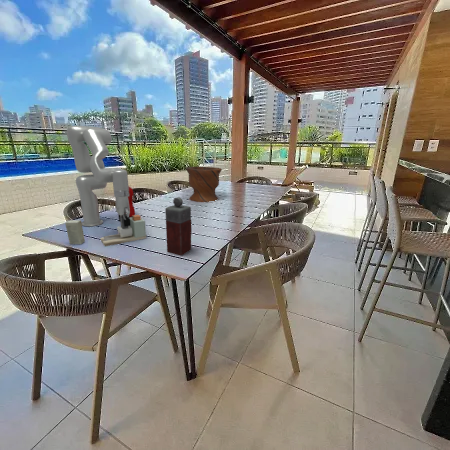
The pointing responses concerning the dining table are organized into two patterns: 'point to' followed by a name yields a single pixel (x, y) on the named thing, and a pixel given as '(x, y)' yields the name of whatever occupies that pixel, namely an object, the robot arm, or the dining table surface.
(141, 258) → the dining table surface
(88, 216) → the robot arm
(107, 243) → the track
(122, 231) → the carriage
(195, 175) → the wooden planter
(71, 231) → the skincare box
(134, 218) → the button
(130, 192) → the water bottle
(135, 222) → the end cabinet
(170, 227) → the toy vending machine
